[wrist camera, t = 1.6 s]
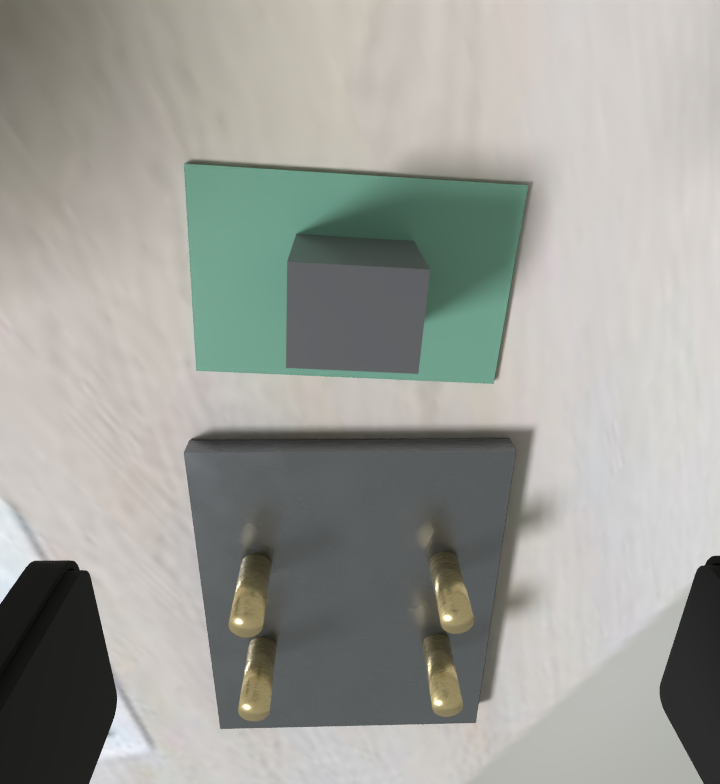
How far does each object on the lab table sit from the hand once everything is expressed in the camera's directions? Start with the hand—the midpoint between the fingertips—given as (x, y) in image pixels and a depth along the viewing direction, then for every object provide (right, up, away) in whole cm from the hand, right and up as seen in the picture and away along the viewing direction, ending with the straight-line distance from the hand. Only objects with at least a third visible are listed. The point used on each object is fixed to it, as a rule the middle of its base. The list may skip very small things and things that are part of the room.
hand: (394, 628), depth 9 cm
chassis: (-1, -8, +25) cm, 26 cm away
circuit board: (-1, +9, +17) cm, 20 cm away
